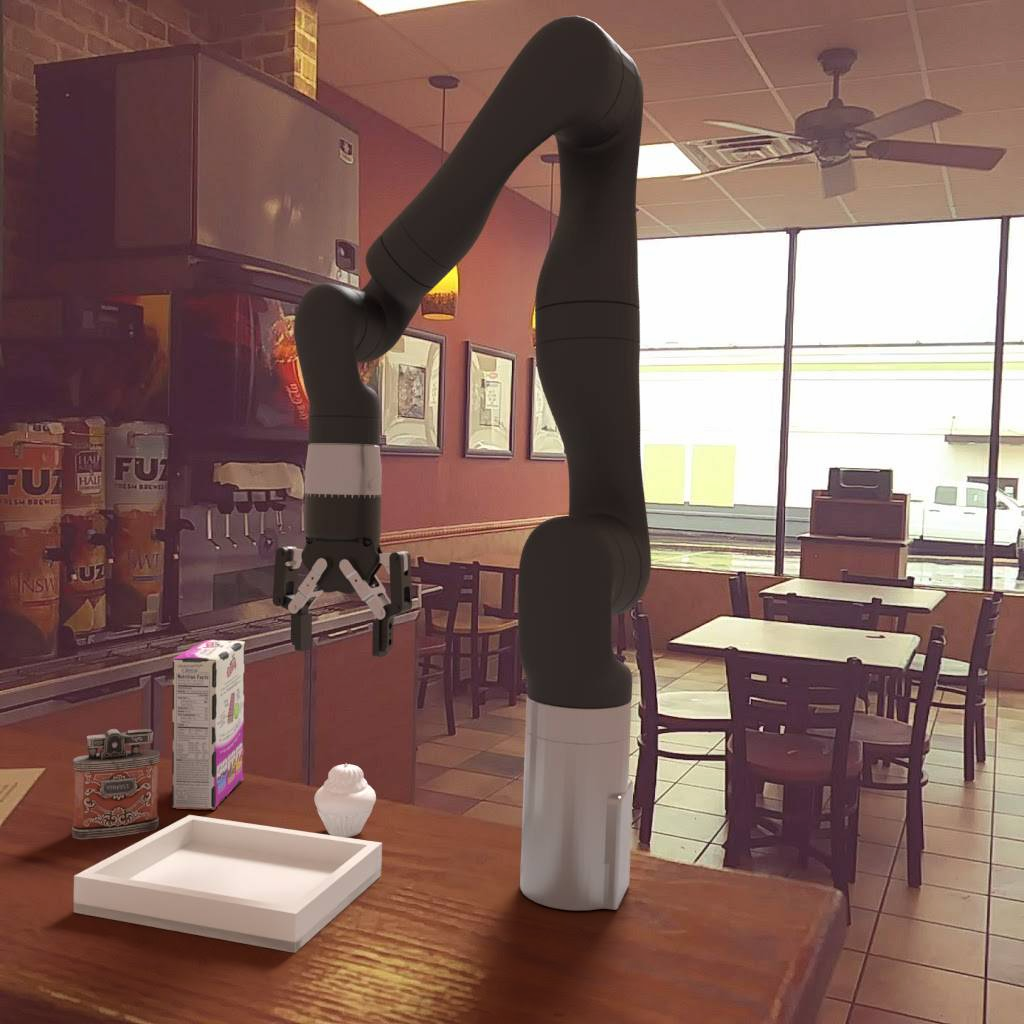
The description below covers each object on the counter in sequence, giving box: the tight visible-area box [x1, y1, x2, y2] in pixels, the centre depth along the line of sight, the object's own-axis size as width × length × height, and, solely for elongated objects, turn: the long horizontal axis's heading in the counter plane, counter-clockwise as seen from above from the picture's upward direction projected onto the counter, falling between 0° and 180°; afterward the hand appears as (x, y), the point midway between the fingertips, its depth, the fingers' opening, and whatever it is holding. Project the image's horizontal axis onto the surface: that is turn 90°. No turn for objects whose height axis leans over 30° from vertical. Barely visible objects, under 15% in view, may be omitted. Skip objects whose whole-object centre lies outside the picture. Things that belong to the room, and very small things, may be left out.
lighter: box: [71, 728, 161, 840], centre depth 102 cm, size 8×3×10 cm, turn 118°
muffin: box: [313, 763, 377, 838], centre depth 104 cm, size 6×6×7 cm
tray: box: [72, 814, 383, 954], centre depth 89 cm, size 20×16×3 cm
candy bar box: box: [171, 639, 246, 809], centre depth 114 cm, size 11×5×16 cm, turn 179°
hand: (340, 653), depth 103 cm, fingers open, 8 cm apart
